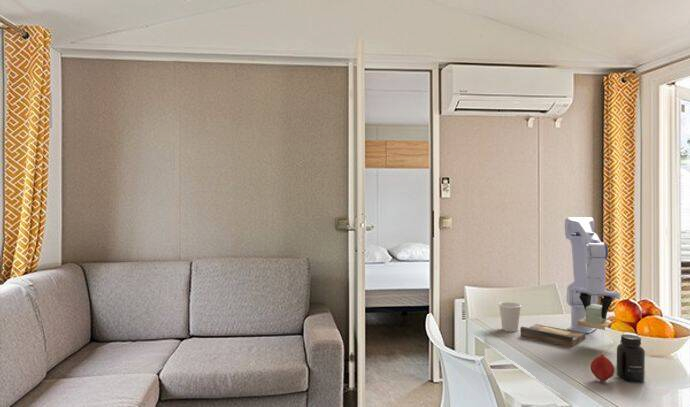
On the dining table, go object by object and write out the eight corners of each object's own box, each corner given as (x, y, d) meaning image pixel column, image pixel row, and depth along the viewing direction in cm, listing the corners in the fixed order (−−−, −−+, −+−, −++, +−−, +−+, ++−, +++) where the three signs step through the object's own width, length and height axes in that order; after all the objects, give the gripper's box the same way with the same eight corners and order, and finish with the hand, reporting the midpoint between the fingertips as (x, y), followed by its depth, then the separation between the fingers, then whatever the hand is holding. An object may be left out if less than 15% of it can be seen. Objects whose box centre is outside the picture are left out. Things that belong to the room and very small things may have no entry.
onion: (586, 378, 132) (586, 350, 132) (605, 377, 132) (605, 349, 132) (599, 386, 126) (598, 357, 126) (618, 385, 126) (618, 356, 126)
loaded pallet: (586, 320, 166) (586, 302, 166) (614, 325, 159) (614, 306, 159) (577, 325, 159) (577, 306, 159) (606, 330, 153) (606, 310, 153)
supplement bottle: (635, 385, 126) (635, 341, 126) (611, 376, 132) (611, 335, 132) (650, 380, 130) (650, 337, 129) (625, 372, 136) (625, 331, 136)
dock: (536, 329, 181) (536, 320, 181) (585, 338, 168) (585, 329, 168) (520, 336, 171) (520, 327, 171) (571, 347, 159) (571, 337, 159)
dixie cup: (498, 331, 178) (497, 305, 178) (499, 326, 186) (499, 301, 186) (521, 333, 175) (521, 307, 175) (521, 328, 183) (521, 303, 183)
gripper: (569, 276, 162) (569, 315, 162) (616, 281, 151) (616, 322, 151) (576, 274, 167) (577, 311, 167) (622, 278, 156) (622, 318, 156)
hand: (596, 316), depth 159 cm, fingers closed on loaded pallet, 4 cm apart
